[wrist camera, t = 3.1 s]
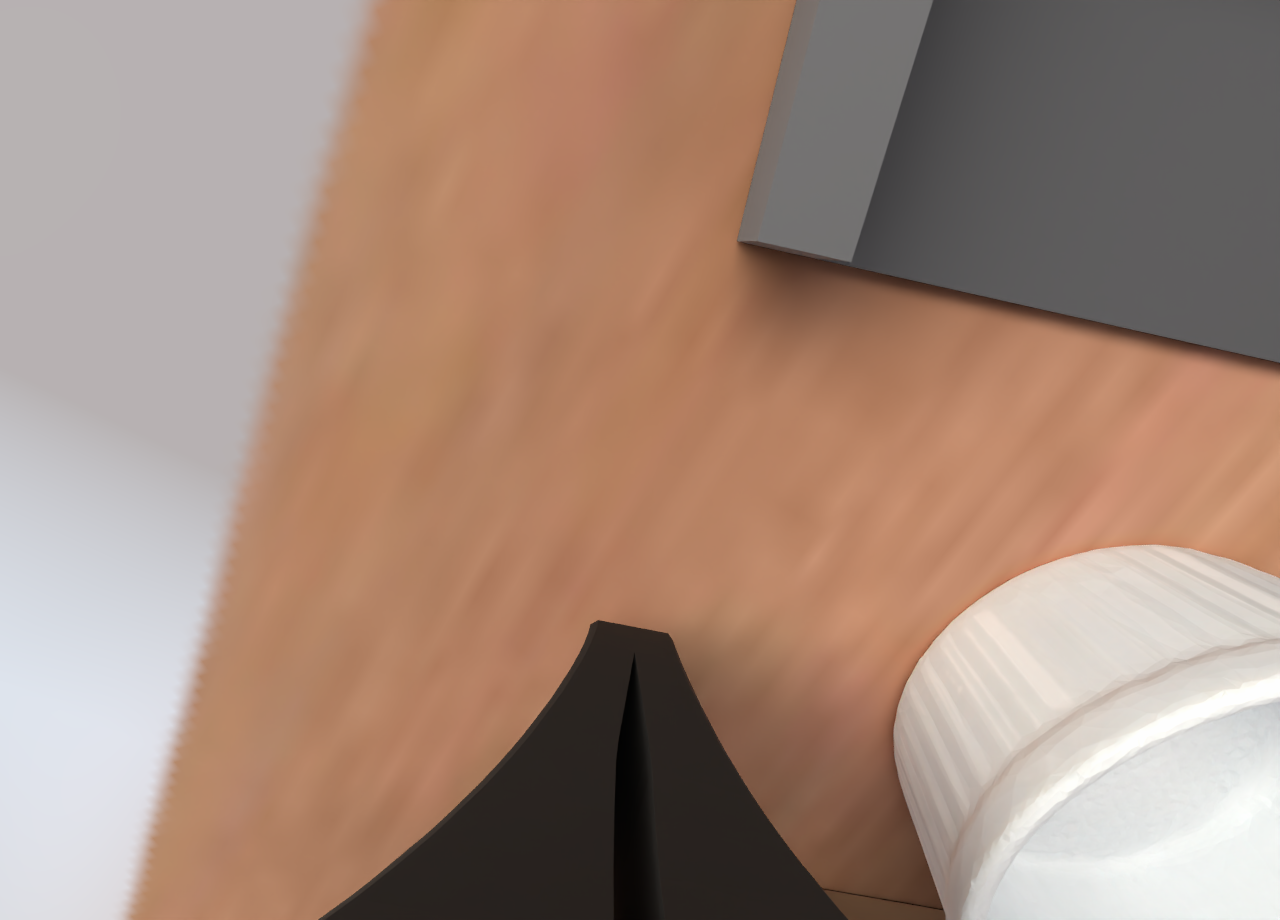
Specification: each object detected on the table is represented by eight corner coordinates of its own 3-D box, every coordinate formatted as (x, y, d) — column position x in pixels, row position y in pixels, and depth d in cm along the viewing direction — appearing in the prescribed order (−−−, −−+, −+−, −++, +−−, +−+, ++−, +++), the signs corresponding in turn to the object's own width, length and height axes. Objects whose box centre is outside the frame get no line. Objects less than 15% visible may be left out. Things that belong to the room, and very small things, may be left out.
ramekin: (815, 593, 12) (900, 784, 8) (1325, 443, 10) (1758, 574, 6) (911, 902, 14) (1013, 1165, 10) (1324, 812, 13) (1627, 1071, 9)
